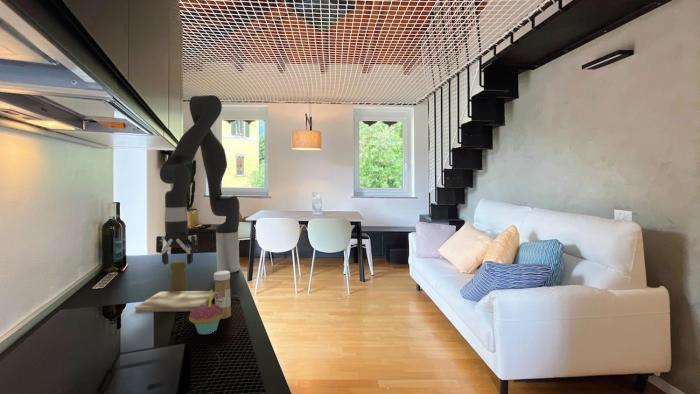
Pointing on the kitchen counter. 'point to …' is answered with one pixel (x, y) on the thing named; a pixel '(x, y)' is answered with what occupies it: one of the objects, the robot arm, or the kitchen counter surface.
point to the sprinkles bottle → (223, 292)
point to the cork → (178, 276)
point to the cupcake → (206, 317)
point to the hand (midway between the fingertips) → (177, 263)
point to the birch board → (175, 301)
